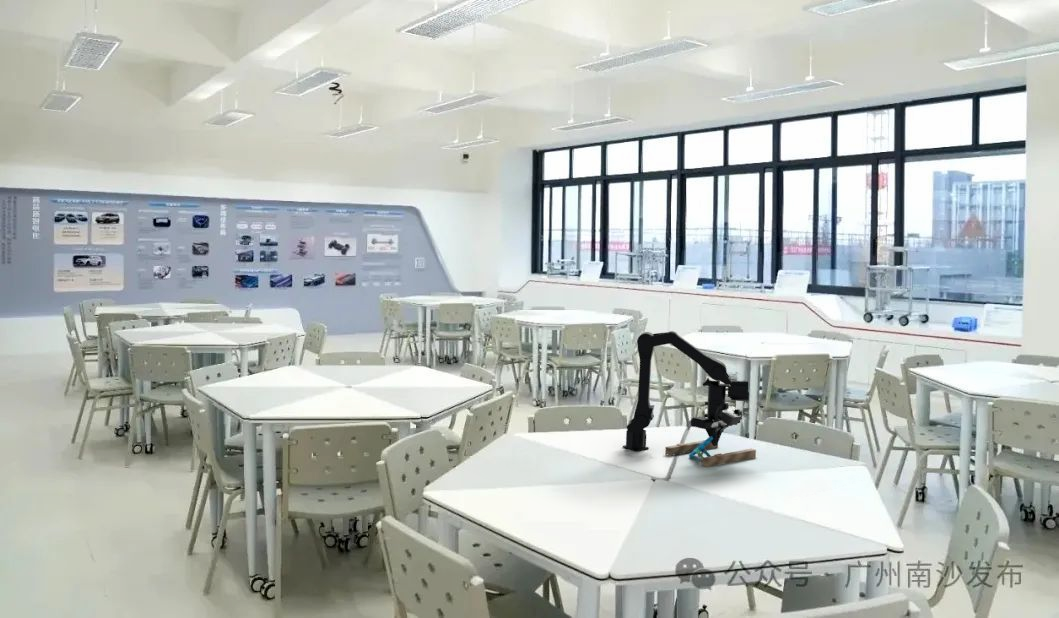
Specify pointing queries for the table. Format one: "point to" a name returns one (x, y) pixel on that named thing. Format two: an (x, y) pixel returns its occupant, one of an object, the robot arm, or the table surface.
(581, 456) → the table surface
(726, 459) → the guide channel
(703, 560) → the table surface
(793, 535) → the table surface
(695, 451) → the gear
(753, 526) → the table surface
